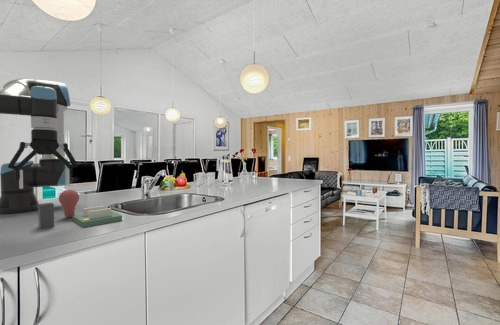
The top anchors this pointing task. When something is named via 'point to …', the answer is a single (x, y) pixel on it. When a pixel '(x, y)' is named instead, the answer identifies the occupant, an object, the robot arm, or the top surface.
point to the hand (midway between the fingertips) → (45, 186)
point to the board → (96, 216)
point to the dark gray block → (46, 215)
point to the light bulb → (69, 202)
